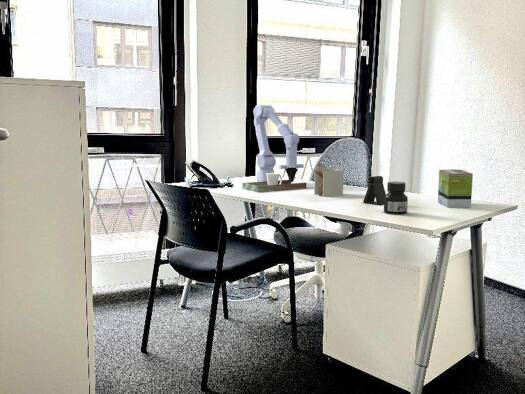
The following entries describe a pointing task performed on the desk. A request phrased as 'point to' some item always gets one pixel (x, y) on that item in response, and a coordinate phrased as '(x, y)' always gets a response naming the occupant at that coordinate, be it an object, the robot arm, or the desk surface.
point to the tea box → (455, 188)
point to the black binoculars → (375, 191)
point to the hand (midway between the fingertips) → (291, 181)
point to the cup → (273, 178)
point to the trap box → (272, 186)
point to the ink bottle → (395, 198)
